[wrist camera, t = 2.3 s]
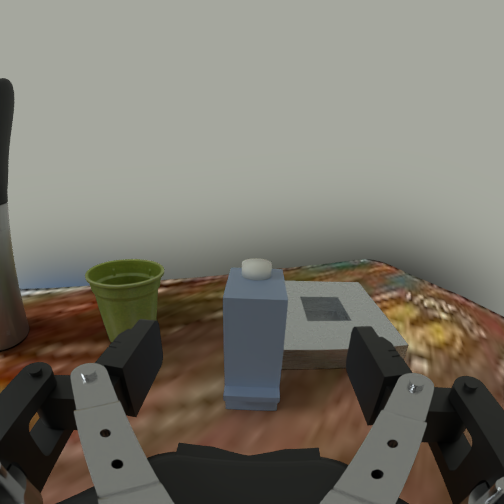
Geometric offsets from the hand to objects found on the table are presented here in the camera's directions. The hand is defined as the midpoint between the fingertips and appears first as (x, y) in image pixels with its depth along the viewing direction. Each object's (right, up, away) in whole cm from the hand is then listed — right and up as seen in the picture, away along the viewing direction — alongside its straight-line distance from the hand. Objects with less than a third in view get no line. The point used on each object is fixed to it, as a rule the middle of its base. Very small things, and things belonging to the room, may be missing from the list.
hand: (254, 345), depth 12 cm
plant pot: (-15, -7, +22) cm, 28 cm away
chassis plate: (+9, -6, +27) cm, 29 cm away
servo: (0, -9, +14) cm, 17 cm away
